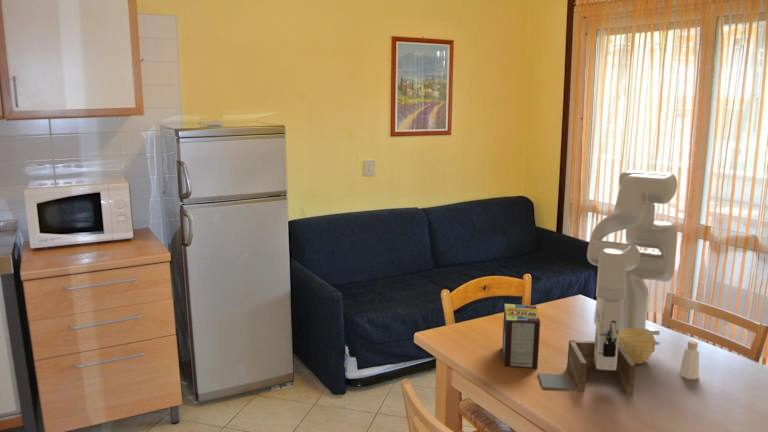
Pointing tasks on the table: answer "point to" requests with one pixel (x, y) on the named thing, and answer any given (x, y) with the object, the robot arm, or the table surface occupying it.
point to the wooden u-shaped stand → (584, 360)
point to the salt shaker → (690, 361)
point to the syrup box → (599, 359)
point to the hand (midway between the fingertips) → (605, 350)
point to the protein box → (521, 336)
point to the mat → (556, 381)
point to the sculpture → (637, 344)
